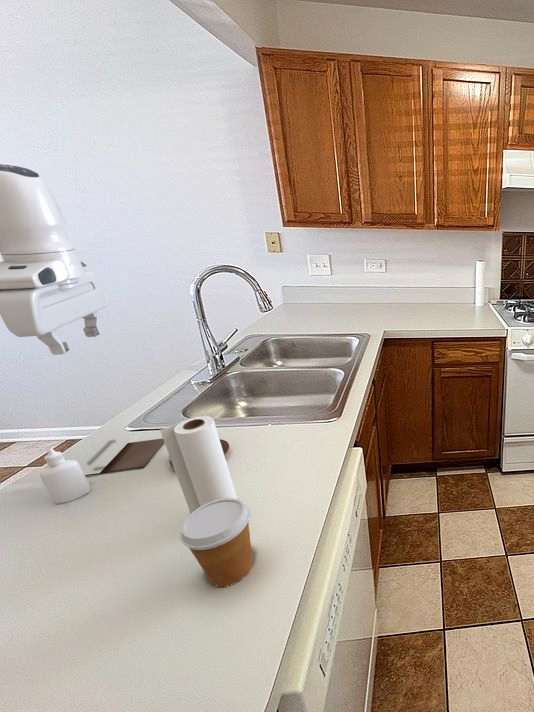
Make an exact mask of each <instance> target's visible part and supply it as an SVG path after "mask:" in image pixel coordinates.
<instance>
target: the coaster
mask: <svg viewBox="0 0 534 712" xmlns="http://www.w3.org/2000/svg"><path fill="white" fill-rule="evenodd" d="M163 445H165V442H164V439H163V437H162V438H156V439H147V440H139V441H132V442H127V443H126V444H125V445H124V446H123V447H122V448H121V449H120V450H119V452H118V453H117V454H116V455H115V456H114V457H113V458H112V459H111V460H110V461H109V462H108V463H107V464H106V465H105V466H104V468H103V469H101V471H100V472H95V473H90V474H88V473H87V474H84V475H85V477H90V476H91V477H92V476H97V475H104V474H112V473H119V472H125V471H126V472H127V471H133V470H139V469H145V468H146V467H147V466H148V464H149V463H150V462H151V460H152V459H153V458H154V457H155V455H156V454H157V453H158V452H159V451H160V450H161V448H162V447H163Z"/></svg>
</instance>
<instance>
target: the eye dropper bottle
mask: <svg viewBox="0 0 534 712" xmlns="http://www.w3.org/2000/svg"><path fill="white" fill-rule="evenodd" d="M44 461H45V463H46V464H47V466H46V467H44V468H43V469H42V470H41V471H40V473H39V474H40V479H41V481H42V483H43V484H44V487H45V488H46V490H47V492H48V494H49V496H50V497H51V500H52V502H53V503H54V504H56V505H60V504H64V503H69V502H71V501H74V500H76V499H79V498H82V497H83V496H86V495H87V494H89V493H90V492H91V485H90V483H89V481H88V479H87V476H85V475H86V474H85V473H84V471H83V468H82V467H81V465H80V463H79V461H78V460H75V459H65V457H64V455H63V453H62V452H61V451H55V449H54V448H52V447H51V448H48V449H47V454H46V455H45V456H44Z"/></svg>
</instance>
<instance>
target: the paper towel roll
mask: <svg viewBox="0 0 534 712" xmlns="http://www.w3.org/2000/svg"><path fill="white" fill-rule="evenodd" d="M159 430H160V434H161V437H162V438H163V439H164V442H165V443H164V445H165V448H166V450H167V453H168V455H169V458H170V459H171V461H172V464H173V467H174V469H173V470H174V472H175V475H176V478H177V480H178V483H179V486H180V489H181V491H182V494H183V497H184V500H185V502H186V505H187V507H188V511H189V513H190V514H191V513H192V512H194V511H195V510H196V509H198V508H199V507H201V506H203V505H205V504H207V503H209V502H212V501H215V500H219V499H224V498H235V499H238V495H237V493H236V490H235V487H234V483H233V479H232V476H231V474H230V470H229V467H228V463H227V460H226V455H225V456H224V453H223V449H222V446H221V443H220V439H221V438H220V437H219V432H218V430H217V425H216V423H215V420H214V418H213V417H211V416H208V415H202V416H195V417H191V418H187V419H185V420H182V421H179V422H176V423H175V424H172V425H171V426H168V427H165V428H162V429H159ZM170 459H169V460H170Z"/></svg>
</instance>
